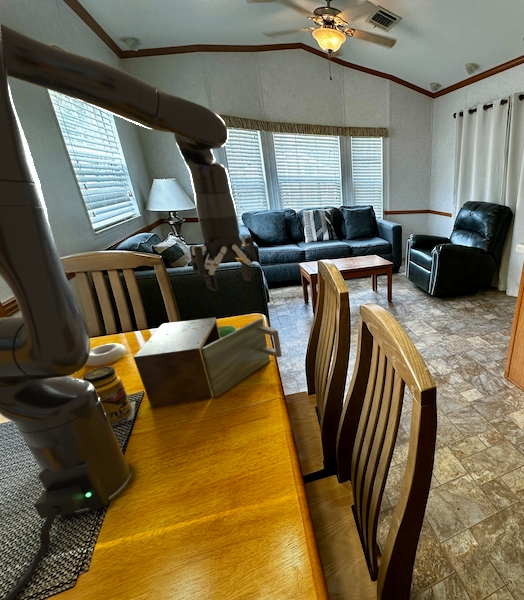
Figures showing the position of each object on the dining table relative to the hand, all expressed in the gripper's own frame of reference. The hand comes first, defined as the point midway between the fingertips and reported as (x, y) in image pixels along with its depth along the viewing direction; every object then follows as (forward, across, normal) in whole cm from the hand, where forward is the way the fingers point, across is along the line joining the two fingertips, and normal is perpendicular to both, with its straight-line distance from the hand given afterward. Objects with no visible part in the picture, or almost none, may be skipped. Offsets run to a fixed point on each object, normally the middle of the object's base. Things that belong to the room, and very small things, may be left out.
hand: (231, 285), depth 77 cm
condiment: (+28, +24, -16) cm, 40 cm away
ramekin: (+27, -9, -26) cm, 38 cm away
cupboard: (+27, +7, -14) cm, 31 cm away
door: (+27, -1, 0) cm, 27 cm away
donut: (+27, +14, -48) cm, 57 cm away
